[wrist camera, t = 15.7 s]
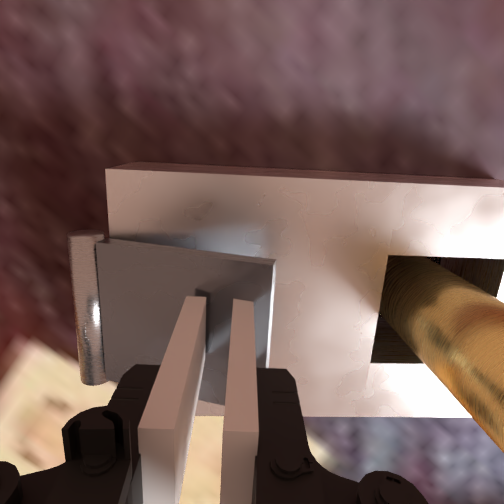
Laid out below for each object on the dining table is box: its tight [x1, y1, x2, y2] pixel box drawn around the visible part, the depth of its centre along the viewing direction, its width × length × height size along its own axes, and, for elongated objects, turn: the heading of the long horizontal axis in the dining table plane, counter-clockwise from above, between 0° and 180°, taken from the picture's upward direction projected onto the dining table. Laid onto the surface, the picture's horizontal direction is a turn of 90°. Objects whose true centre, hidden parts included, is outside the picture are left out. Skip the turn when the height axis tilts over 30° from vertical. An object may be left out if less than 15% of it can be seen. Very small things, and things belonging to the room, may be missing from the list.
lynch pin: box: [379, 255, 504, 453], centre depth 15 cm, size 4×4×16 cm
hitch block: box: [105, 161, 504, 417], centre depth 20 cm, size 20×12×5 cm, turn 87°
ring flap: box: [67, 229, 277, 406], centre depth 15 cm, size 9×7×1 cm
